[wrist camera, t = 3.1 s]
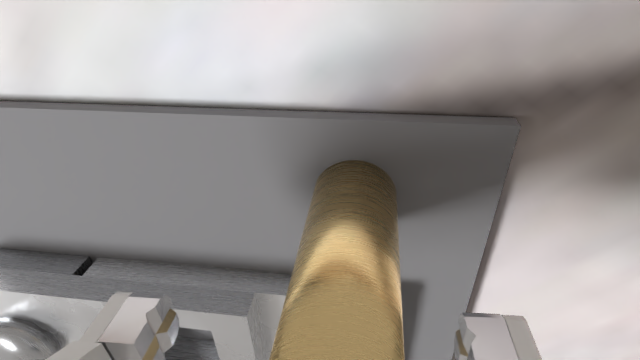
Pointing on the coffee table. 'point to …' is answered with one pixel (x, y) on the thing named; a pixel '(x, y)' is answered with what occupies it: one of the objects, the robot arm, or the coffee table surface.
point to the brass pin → (346, 272)
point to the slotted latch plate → (140, 277)
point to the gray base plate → (252, 191)
